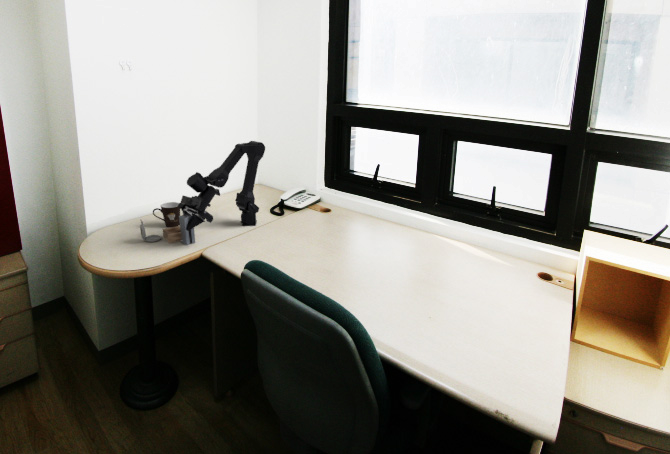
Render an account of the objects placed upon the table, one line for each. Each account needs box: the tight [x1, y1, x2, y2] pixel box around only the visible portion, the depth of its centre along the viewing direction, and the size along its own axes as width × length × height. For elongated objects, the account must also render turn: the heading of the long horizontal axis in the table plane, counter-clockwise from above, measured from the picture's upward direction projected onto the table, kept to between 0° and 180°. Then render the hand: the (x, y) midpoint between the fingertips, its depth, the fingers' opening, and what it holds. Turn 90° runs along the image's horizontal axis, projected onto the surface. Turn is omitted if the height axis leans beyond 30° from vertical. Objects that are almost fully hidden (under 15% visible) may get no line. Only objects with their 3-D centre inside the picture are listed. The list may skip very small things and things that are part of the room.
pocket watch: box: [139, 218, 162, 243], centre depth 191 cm, size 8×8×10 cm
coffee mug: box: [152, 201, 181, 228], centre depth 209 cm, size 12×9×10 cm
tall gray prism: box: [179, 214, 196, 246], centre depth 189 cm, size 4×4×12 cm
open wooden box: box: [162, 225, 182, 244], centre depth 195 cm, size 10×9×4 cm
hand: (184, 229), depth 187 cm, fingers closed on tall gray prism, 4 cm apart
